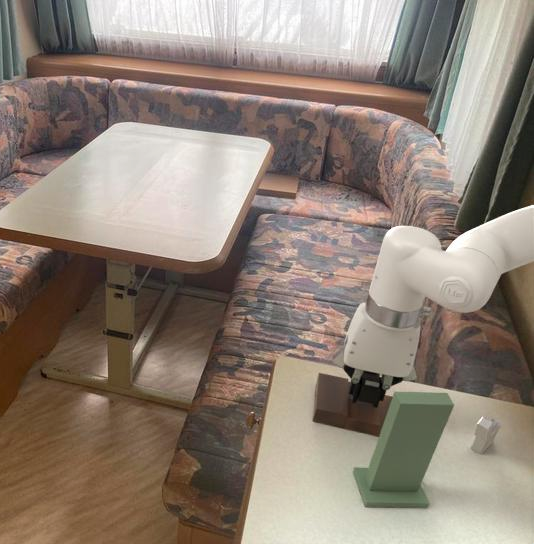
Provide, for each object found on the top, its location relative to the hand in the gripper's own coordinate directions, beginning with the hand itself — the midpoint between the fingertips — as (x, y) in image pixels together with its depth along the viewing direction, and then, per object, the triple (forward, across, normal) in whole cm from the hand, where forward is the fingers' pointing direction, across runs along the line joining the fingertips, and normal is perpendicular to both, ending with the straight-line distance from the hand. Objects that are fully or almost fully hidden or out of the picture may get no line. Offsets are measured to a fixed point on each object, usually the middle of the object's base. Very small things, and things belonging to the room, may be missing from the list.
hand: (364, 398), depth 94 cm
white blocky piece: (+3, -18, +2) cm, 18 cm away
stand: (+3, -4, +14) cm, 15 cm away
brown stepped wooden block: (+3, 0, 0) cm, 3 cm away
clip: (-1, 0, 0) cm, 1 cm away
